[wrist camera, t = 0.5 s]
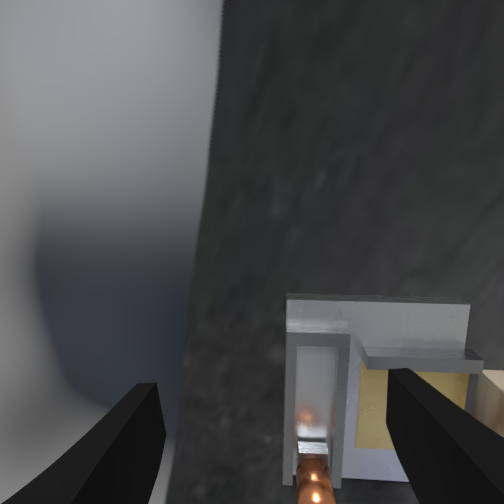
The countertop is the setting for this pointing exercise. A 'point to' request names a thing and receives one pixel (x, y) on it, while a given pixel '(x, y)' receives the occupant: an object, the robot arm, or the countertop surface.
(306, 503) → the lever
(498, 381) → the beech block
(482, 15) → the countertop surface
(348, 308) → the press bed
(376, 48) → the countertop surface
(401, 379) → the robot arm
